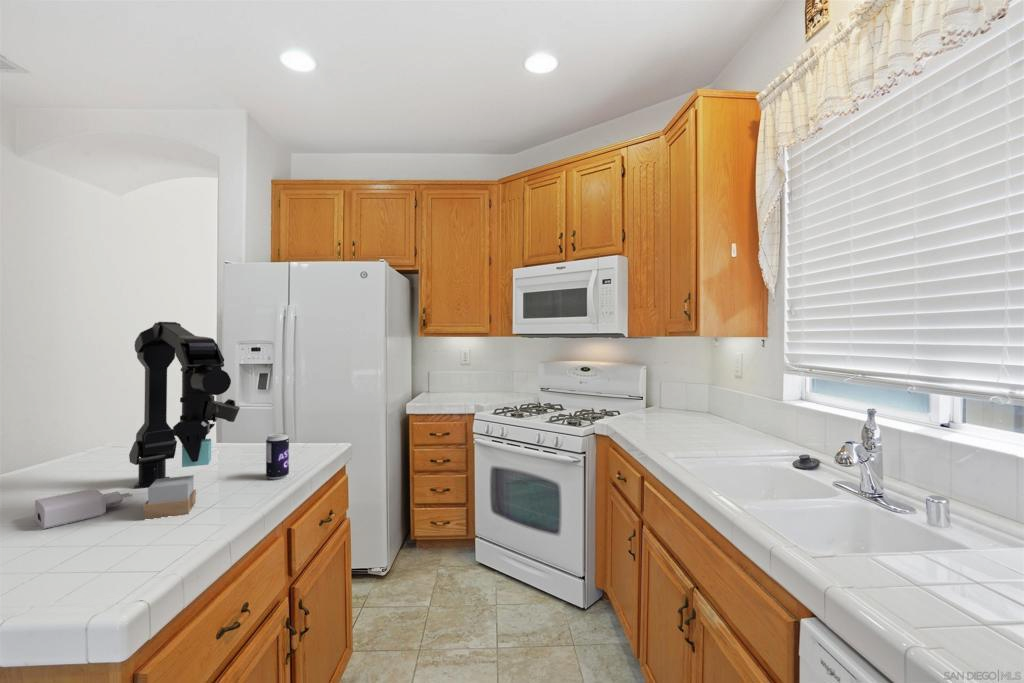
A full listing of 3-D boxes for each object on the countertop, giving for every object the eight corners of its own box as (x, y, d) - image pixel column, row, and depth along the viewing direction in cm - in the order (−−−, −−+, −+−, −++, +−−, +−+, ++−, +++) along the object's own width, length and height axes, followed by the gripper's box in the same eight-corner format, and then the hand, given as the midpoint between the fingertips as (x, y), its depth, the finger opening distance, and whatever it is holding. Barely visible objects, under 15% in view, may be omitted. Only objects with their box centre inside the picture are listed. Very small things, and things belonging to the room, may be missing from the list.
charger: (137, 508, 104) (44, 531, 92) (124, 500, 109) (34, 520, 97) (137, 488, 104) (44, 507, 92) (124, 481, 109) (34, 498, 97)
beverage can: (279, 481, 124) (279, 437, 124) (261, 479, 125) (261, 436, 125) (293, 475, 130) (293, 433, 130) (275, 473, 131) (276, 432, 131)
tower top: (156, 494, 104) (156, 479, 104) (193, 490, 107) (193, 475, 107) (148, 504, 98) (148, 488, 98) (187, 499, 101) (187, 483, 101)
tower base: (153, 509, 104) (153, 494, 104) (195, 504, 108) (195, 489, 108) (143, 521, 97) (143, 505, 97) (188, 516, 100) (188, 500, 100)
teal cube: (185, 461, 107) (185, 440, 107) (211, 459, 109) (211, 438, 109) (181, 467, 102) (182, 445, 102) (208, 464, 105) (208, 443, 105)
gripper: (234, 394, 101) (233, 464, 101) (240, 386, 118) (239, 446, 118) (172, 397, 96) (172, 470, 96) (187, 388, 112) (187, 451, 113)
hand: (196, 458), depth 106 cm, fingers closed on teal cube, 5 cm apart
